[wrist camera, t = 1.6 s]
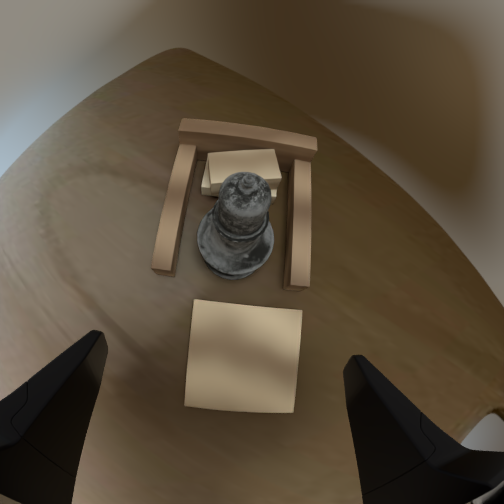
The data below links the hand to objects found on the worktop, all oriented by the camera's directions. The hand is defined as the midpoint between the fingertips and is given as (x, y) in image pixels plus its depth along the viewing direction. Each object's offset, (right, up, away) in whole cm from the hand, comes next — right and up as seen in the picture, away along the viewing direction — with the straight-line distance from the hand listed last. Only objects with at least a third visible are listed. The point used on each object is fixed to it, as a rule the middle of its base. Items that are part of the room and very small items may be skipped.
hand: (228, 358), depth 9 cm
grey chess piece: (-1, +4, +16) cm, 16 cm away
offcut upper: (0, +11, +16) cm, 19 cm away
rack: (-1, +7, +17) cm, 18 cm away
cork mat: (0, -5, +13) cm, 14 cm away
